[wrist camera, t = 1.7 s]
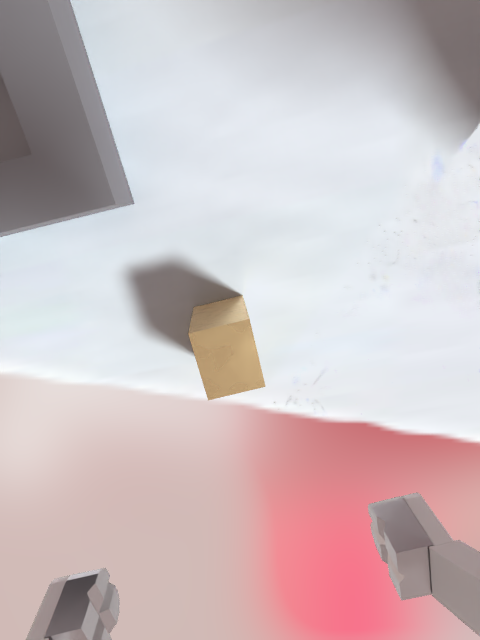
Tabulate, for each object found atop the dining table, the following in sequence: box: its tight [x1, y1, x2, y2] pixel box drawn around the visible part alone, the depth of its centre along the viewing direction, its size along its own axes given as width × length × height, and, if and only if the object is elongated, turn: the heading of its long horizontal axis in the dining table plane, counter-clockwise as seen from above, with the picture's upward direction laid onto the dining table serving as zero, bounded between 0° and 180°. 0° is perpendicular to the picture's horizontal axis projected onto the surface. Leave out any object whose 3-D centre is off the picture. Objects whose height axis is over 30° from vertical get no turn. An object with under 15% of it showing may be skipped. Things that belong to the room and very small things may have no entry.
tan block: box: [188, 295, 265, 400], centre depth 26 cm, size 4×5×6 cm
